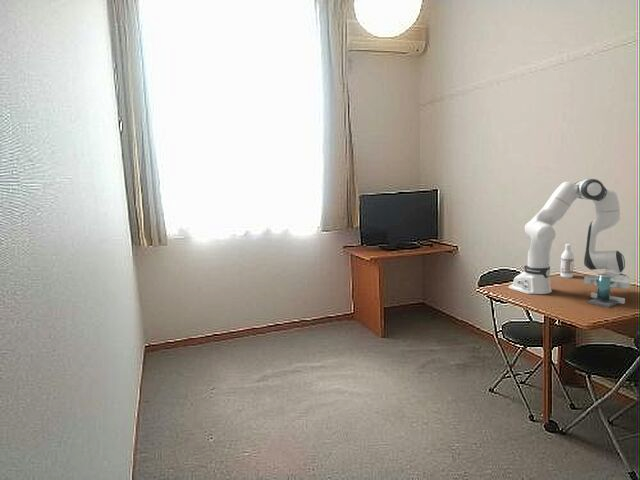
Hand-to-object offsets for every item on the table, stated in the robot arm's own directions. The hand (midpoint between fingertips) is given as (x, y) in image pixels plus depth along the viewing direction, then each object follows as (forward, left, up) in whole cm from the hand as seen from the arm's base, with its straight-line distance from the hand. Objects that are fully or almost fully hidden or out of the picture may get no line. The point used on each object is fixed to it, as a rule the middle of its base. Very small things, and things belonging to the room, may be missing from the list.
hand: (603, 285), depth 243 cm
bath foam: (-39, +39, -10) cm, 56 cm away
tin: (0, +1, -7) cm, 7 cm away
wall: (-1, +7, -9) cm, 12 cm away
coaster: (0, +1, -9) cm, 10 cm away
